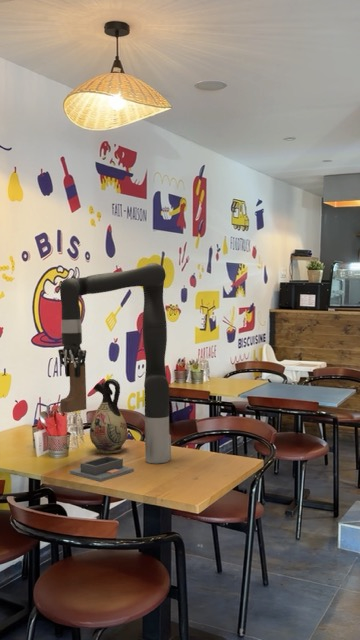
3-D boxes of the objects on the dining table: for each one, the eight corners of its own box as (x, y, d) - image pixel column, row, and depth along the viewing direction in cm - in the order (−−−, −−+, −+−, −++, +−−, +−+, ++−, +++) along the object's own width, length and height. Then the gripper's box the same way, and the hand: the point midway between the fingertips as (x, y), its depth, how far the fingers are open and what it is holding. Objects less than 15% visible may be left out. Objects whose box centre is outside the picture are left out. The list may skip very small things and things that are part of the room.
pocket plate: (103, 464, 232) (103, 453, 232) (133, 471, 222) (133, 460, 222) (70, 473, 220) (69, 462, 220) (100, 481, 210) (100, 469, 210)
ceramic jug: (81, 453, 249) (80, 379, 248) (105, 445, 263) (104, 375, 262) (115, 458, 240) (114, 381, 240) (138, 450, 254) (137, 377, 253)
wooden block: (67, 412, 228) (66, 364, 228) (60, 411, 231) (58, 363, 231) (86, 409, 235) (85, 362, 234) (79, 408, 238) (78, 361, 237)
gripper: (91, 331, 230) (93, 377, 231) (67, 330, 240) (68, 374, 240) (76, 332, 225) (77, 379, 225) (51, 331, 234) (52, 376, 235)
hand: (72, 376), depth 233 cm, fingers closed on wooden block, 4 cm apart
